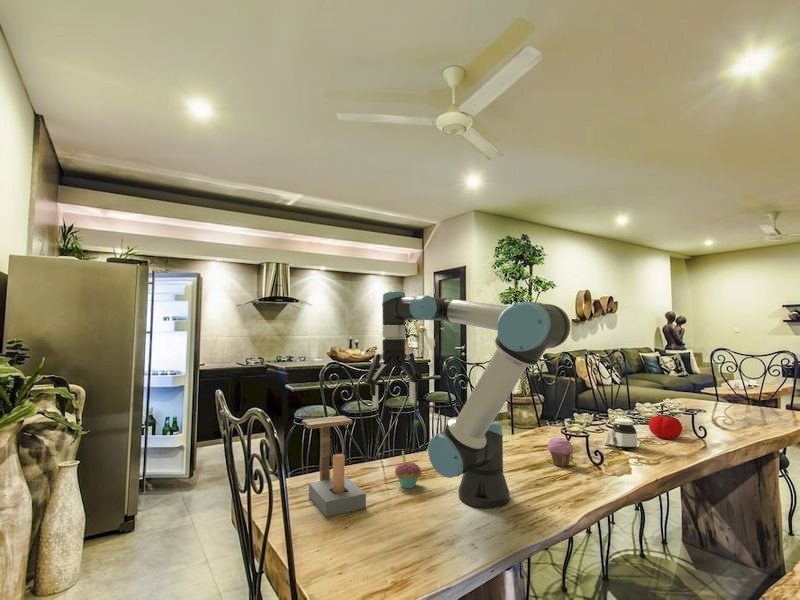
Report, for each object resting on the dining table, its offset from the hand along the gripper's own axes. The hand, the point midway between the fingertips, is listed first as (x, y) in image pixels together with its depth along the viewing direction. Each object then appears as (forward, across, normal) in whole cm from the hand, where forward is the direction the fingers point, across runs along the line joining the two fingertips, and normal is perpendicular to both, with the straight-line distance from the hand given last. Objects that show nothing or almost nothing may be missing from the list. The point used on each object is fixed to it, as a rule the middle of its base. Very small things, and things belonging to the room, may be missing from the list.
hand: (394, 404), depth 136 cm
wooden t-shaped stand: (+27, +20, -8) cm, 34 cm away
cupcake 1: (+27, -5, 0) cm, 27 cm away
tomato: (+27, -139, +7) cm, 142 cm away
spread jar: (+27, -106, +6) cm, 110 cm away
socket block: (+27, +20, +1) cm, 33 cm away
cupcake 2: (+27, -65, +10) cm, 71 cm away
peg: (+27, +20, +3) cm, 33 cm away
